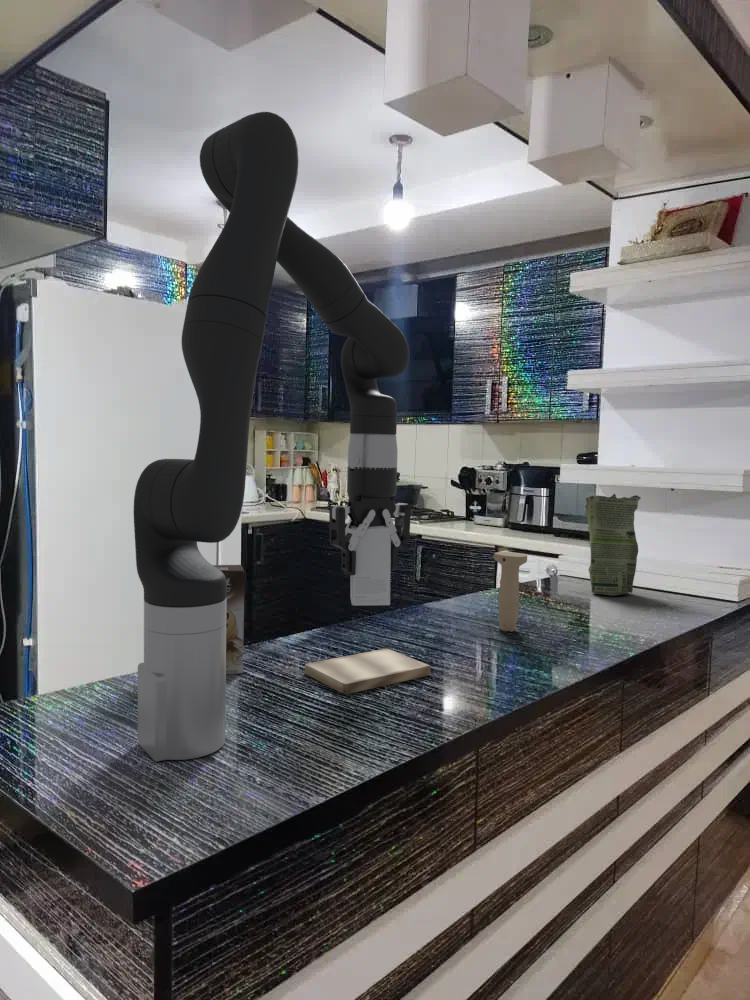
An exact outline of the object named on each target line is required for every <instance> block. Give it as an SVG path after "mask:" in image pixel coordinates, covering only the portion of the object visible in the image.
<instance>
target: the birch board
mask: <svg viewBox="0 0 750 1000" xmlns="http://www.w3.org/2000/svg"><path fill="white" fill-rule="evenodd" d="M304 674H305V675H307V676H309V677H311V678H313V679H314V680H316V681H318V682H320V683H322V684H324V685H326V686H328V687H330V688H332V689H334V690H335V691H338V692H339V693H342V694H343V695H349V694H354V693H358V692H362V691H367V690H372V689H375V688H376V689H377V688H380V687H384V686H389V685H393V684H398V683H401V682H407V681H410V680H415V679H419V678H424V677H428V676H431V665H430V664H428V663H425V662H423V661H419V660H417V659H414V658H413V657H411V656H410V657H409V656H408V655H404V654H402V653H400V652H397V651H394V650H392V649H389V648H388V647H387V648H382V649H377V650H372V651H366V652H361V653H356V654H352V655H346V656H340V657H334V658H329V659H324V660H319V661H314V662H309V663H305V664H304Z"/></svg>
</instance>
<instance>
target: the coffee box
mask: <svg viewBox="0 0 750 1000" xmlns="http://www.w3.org/2000/svg"><path fill="white" fill-rule="evenodd" d="M212 565H213V566H214V567H216V568H217V569H219V570H220V571H221V572H223V573H224V575H225V577H226V581H227V597H226V598H227V606H226V675H234V674H237V675H238V674H243V672H244V627H245V626H244V623H245V622H244V620H245V618H244V617H245V573H246V572H245V570H244V569H245V568H243V566H242V564H215V565H214V564H212Z"/></svg>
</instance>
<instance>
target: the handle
mask: <svg viewBox="0 0 750 1000" xmlns="http://www.w3.org/2000/svg"><path fill="white" fill-rule="evenodd" d="M493 555H494V556H493V558H494V561H495V562H497V563H499V565H501V567H500V568H501V569H500V571H501V572H500V573H501V574H500V583H499V584H500V585H499V593H498V603H497V604H498V607H497V609H498V620H499V622H498V626H499V628H498V629H499V630H501V631H502V632H508V631H509V632H510V633H511V632H512V633H513V632H516V631H517V627H518V624H517V622H518V618H519V611H520V609H519V608H520V584H519V583H520V575H519V574H520V567H521V566H522V565H525V564H526V563H527V562H528V555H527V554H525V553H519V552H510V551H508V552H507V551H499V552H498V551H497V552H494V554H493Z"/></svg>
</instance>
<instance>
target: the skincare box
mask: <svg viewBox="0 0 750 1000" xmlns="http://www.w3.org/2000/svg"><path fill="white" fill-rule="evenodd" d="M357 528H358V527H355V526H352V527H351V529H352V531H353V530H356V529H357ZM351 537H352V535H351ZM353 551H356V573H355V575H352V576H350V577H349V578H350V582H349V583H350V591H349V592H350V593H349V595H350V603H351V606H360V607H361V606H390V605H391V572H392V571H391V528H390V527H389V526H372V527H368V528H367V530H366V532H365V534H364V536H363V537H362V538H360V539H359V541H358V543H357V545H356V547H355V549H354V550H353Z"/></svg>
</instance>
